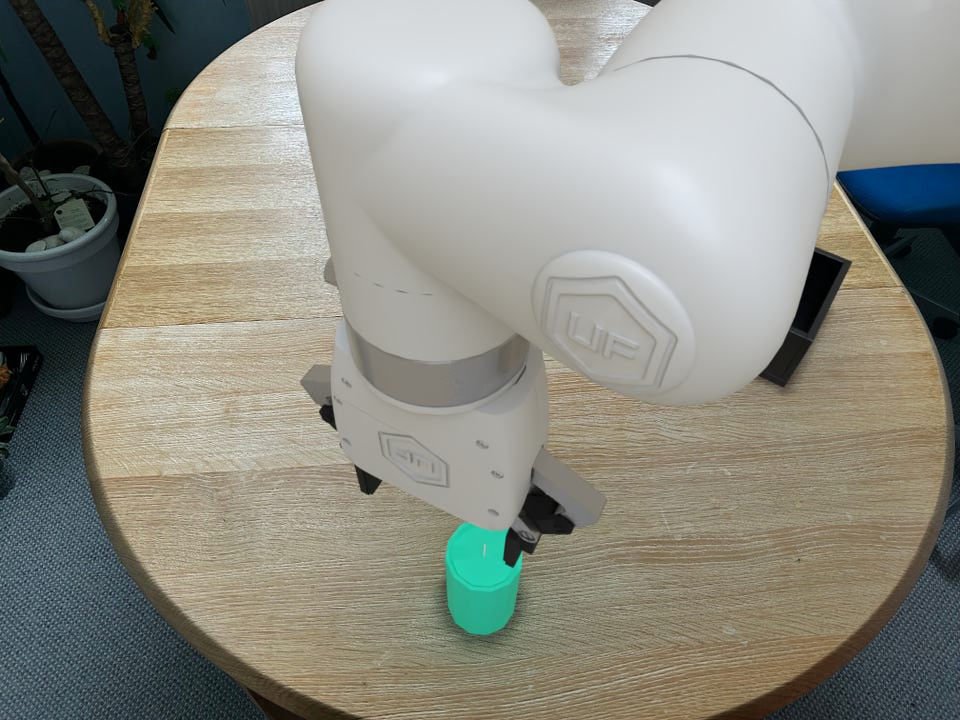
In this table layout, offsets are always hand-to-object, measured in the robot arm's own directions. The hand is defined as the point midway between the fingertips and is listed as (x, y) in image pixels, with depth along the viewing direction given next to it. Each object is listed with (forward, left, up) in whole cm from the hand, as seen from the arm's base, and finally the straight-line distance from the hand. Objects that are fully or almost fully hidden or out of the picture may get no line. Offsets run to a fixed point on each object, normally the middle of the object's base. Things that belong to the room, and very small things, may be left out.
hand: (447, 508), depth 41 cm
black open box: (-8, -49, -22) cm, 55 cm away
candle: (-1, -3, -22) cm, 23 cm away
